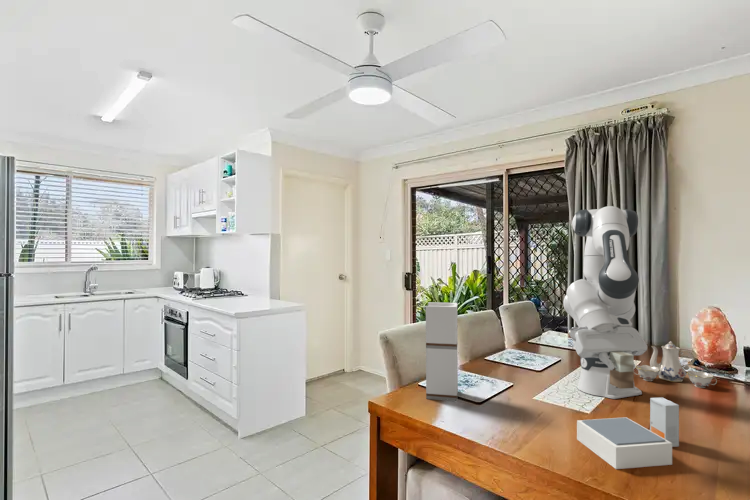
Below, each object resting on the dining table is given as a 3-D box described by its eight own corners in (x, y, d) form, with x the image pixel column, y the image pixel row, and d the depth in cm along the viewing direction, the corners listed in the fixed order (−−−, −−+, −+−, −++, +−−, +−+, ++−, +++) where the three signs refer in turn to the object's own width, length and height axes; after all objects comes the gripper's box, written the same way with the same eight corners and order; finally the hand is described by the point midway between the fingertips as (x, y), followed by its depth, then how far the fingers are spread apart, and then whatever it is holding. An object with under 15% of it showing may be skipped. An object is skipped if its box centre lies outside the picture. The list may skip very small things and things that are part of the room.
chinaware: (636, 386, 167) (637, 347, 166) (629, 370, 183) (629, 335, 181) (720, 395, 156) (722, 354, 154) (705, 378, 171) (707, 340, 170)
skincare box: (649, 437, 119) (649, 397, 119) (662, 436, 120) (662, 396, 119) (665, 447, 113) (665, 405, 113) (679, 447, 114) (679, 404, 113)
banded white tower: (457, 391, 158) (457, 302, 158) (457, 401, 148) (456, 306, 148) (428, 389, 161) (428, 302, 161) (426, 398, 151) (425, 306, 150)
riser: (626, 435, 120) (626, 415, 120) (672, 464, 104) (672, 441, 104) (576, 439, 118) (576, 419, 118) (616, 469, 102) (615, 445, 102)
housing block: (622, 382, 113) (622, 351, 113) (633, 387, 109) (633, 355, 109) (609, 383, 113) (609, 351, 113) (620, 388, 109) (620, 355, 109)
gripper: (571, 321, 117) (593, 364, 107) (635, 319, 119) (662, 361, 110) (562, 333, 121) (583, 376, 112) (624, 331, 124) (649, 372, 114)
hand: (623, 368), depth 111 cm, fingers closed on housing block, 4 cm apart
